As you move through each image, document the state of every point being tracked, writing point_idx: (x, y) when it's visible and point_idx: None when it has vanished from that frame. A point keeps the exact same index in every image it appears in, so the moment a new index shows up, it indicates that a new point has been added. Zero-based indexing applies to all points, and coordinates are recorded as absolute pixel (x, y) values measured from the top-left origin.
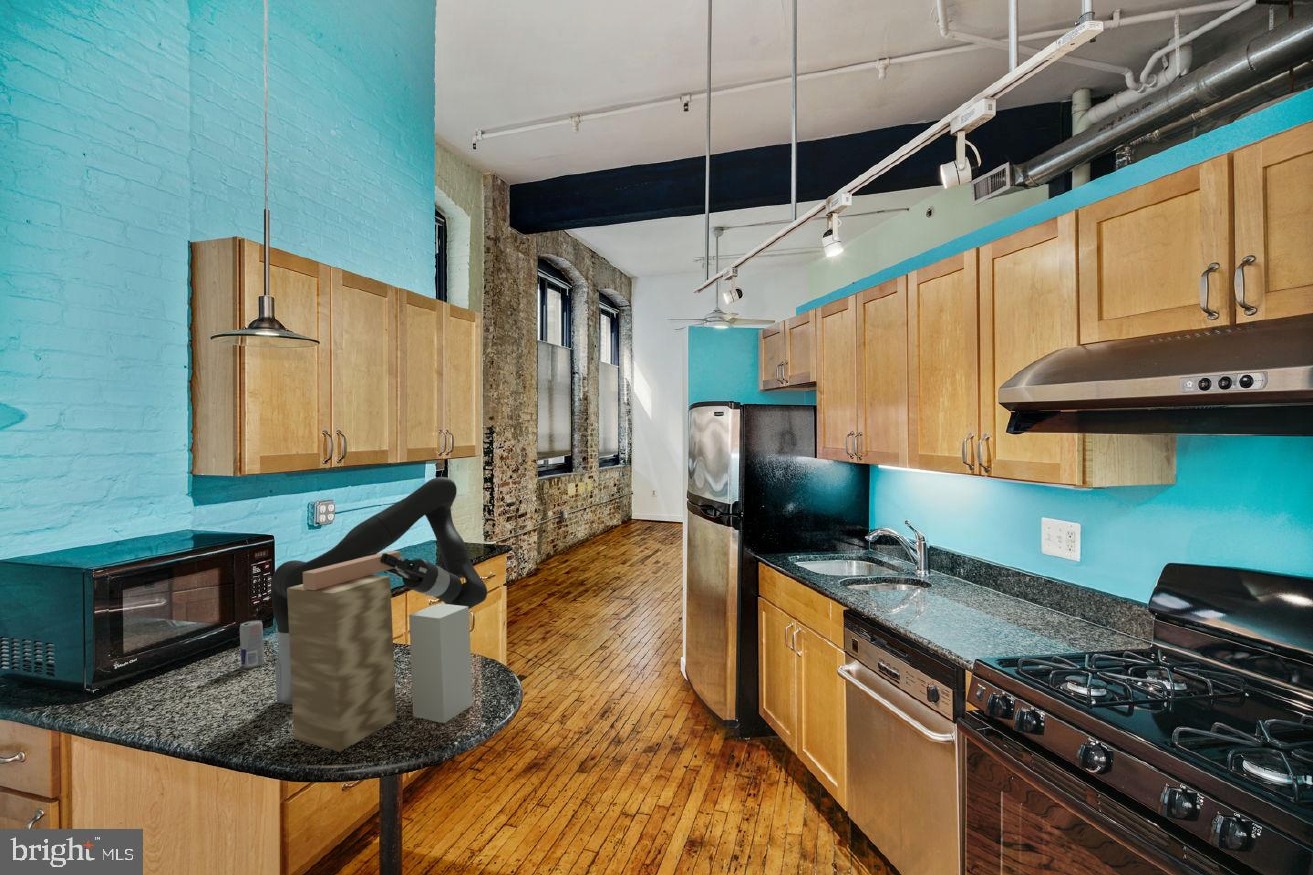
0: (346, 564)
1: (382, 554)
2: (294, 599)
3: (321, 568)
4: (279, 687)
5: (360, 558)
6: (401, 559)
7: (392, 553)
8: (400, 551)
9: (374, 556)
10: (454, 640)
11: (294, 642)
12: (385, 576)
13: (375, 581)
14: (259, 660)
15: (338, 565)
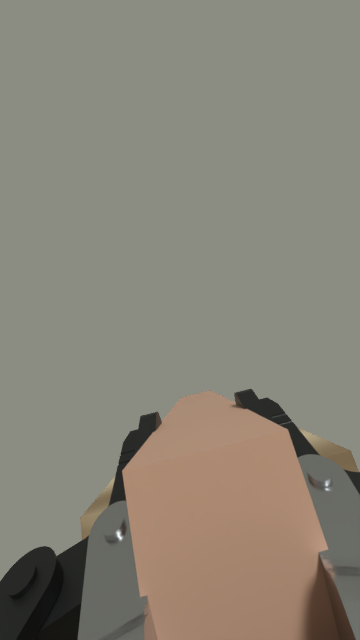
0: (182, 402)
1: (158, 416)
2: None
3: (205, 393)
4: None
5: (217, 401)
6: (92, 546)
7: (146, 441)
8: (122, 470)
9: (193, 413)
10: None
11: None
12: (103, 509)
13: (109, 486)
14: None
15: (193, 398)
